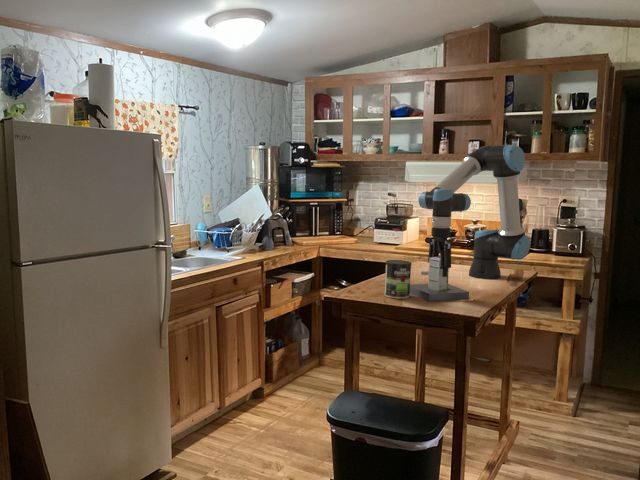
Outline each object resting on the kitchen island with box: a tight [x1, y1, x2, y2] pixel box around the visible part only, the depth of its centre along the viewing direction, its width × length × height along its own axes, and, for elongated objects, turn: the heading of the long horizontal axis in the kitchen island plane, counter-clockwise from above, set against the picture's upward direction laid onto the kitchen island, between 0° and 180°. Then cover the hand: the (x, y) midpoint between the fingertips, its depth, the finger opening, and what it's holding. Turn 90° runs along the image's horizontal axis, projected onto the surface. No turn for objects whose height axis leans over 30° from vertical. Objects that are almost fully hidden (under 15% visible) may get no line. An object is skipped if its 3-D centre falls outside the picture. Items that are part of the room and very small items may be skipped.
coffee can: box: [384, 259, 412, 300], centre depth 223 cm, size 10×10×14 cm
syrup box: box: [427, 256, 450, 291], centre depth 225 cm, size 6×6×14 cm
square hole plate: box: [410, 283, 470, 303], centre depth 226 cm, size 18×18×3 cm
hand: (438, 282), depth 226 cm, fingers closed on syrup box, 7 cm apart
